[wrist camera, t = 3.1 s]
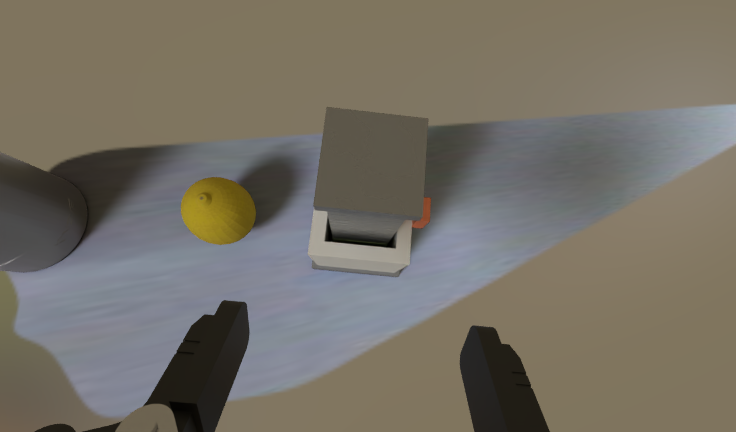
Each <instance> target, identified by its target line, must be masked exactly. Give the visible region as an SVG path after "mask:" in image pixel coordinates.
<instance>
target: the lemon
mask: <svg viewBox="0 0 736 432" xmlns="http://www.w3.org/2000/svg"><path fill="white" fill-rule="evenodd" d="M181 214H182V217H183V220H184V223H185V224H186V226H187V227H188V228H189V230H190V231H191V232H192V233H193V234H194V235H196V236H197V237H198V238H199V239H201V240H204V241H206V242H208V243H212V244H218V245H222V244H231V243H234V242H236V241H239V240H240V239H242V238H244V237H245V236H246V235H247V234H248V233H249V232H250V230H251V229H252V227H253V225H254V222H255V219H256V209H255V205H254V201H253V200H252V198H251V196H250V194H249V193H248V192H247V191H246V190H245V189H244V188H243V187H242V186H241V185H239V184H237V183H236V182H234V181H232V180H228V179H225V178H220V177H211V178H205V179H202V180H200V181H198V182H196V183H195V184H193V185H192V186H191V187H190V188H189V189H188V190H187V191H186V193H185V195H184V197H183V199H182V203H181Z"/></svg>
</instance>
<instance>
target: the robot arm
mask: <svg viewBox="0 0 736 432" xmlns="http://www.w3.org/2000/svg"><path fill="white" fill-rule="evenodd" d="M87 218H88V216H87V206H86V202H85V199H84V197H83V195H82V194H81V192H80V191H79V190H78V189H77V188H76V187H75V186H74V185H73V184H72V183H70V182H68V181H67V180H65V179H63V178H60V177H58V176H56V175H53V174H51V173H48V172H46V171H43V170H41V169H39V168H36V167H34V166H32V165H30V164H27V163H25V162H23V161H20V160H18V159H16V158H13V157H11V156H9V155H6V154H4V153H1V152H0V271H11V272H33V271H38V270H41V269H45V268H48V267H50V266H52V265H54V264H56V263H58V262H59V261H60V260H62V259H63V258H64V257H66V256H67V255H68V254H69V253H70V252H71V251H72V250H73V249H74V248H75V247H76V245H77V244H78V242H79V241H80V239H81V238H82V235H83V233H84V230H85V228H86V223H87ZM248 341H249V322H248V312H247V304H246V303H245V302H236V301H226V300H224V301H222V302H221V304H220V306H219V307H218V309H217V311H216V313H215V315H203V316H202V317H201V318H200V319H199V320H198V321H197V322H195V323H194V324H193V325H192V326H191V328H190V329H189V331H188V333H187V334H186V336H185V338H184V340H183V343H181V345H180V346H179V348H178V350H177V353H176V354H175V355H174V357H173V358H172V360H171V362H170V363H169V365H168V367H167V369H166V370H165V372H164V374H163V375H162V377H161V379H160V381H159V382H158V384H157V386H156V387H155V389H154V391H153V393H152V394H151V396H150V398H149V399H148V401H147V402H146V403H145V404H144V405H143V407H141V408H139V409H137V410H135V411H134V412H132V413H131V414H129V415H128V416H127V417H126V418H125V419H124V420H123V421H121V422H119V423H116V424H113V425H109V426H105V427H101V428H96V429H92V430H88V431H83V432H215V429H216V427H217V424H218V421H219V419H220V416H221V413H222V411H223V408H224V406H225V403H226V401H227V398H228V395H229V393H230V390H231V388H232V385H233V383H234V380H235V377H236V375H237V372H238V370H239V367H240V364H241V362H242V359H243V357H244V354H245V351H246V349H247V345H248ZM460 369H461V374H462V379H463V383H464V387H465V392H466V396H467V401H468V405H469V410H470V413H471V419H472V423H473V427H474V431H475V432H550V431H549V429H548V426H547V424H546V421H545V419H544V416H543V414H542V412H541V409H540V406H539V404H538V401H537V399H536V396H535V394H534V392H533V389H532V388H531V384H530V382H529V379H528V377H527V376H526V372H525V369H524V367H523V364H522V362H521V359H520V357H519V356H518V355H517V354H516V352H515V351H514V350H513V349H512V348H511V346H510V345H507V344H501V342H500V339H499V336H498V334H497V331H496V329H494V328H493V327H483V326H472V327H471V328H470V330H469V333H468V335H467V338H466V341H465V343H464V346H463V348H462V351H461V355H460ZM35 432H75V430H74V429H73V428H72V427H71V426H69V425H66V424H54V425H50V426H46V427H43V428H41V429H39V430H37V431H35Z"/></svg>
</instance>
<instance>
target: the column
mask: <svg viewBox="0 0 736 432" xmlns="http://www.w3.org/2000/svg"><path fill="white" fill-rule="evenodd" d="M427 133H428V119H427V118H418V117H410V116H401V115H392V114H384V113H375V112H366V111H357V110H349V109H340V108H332V107H327V109H326V116H325V123H324V131H323V138H322V146H321V153H320V160H319V168H318V175H317V183H316V190H315V197H314V205H313V206H314V209H315V210H317V211H327V214H328V218H329V223H330V227H331V231H332V236H333V241H334V242H335V243H345V244H355V245H365V246H375V247H384V248H385V247H386V246H387V244H388V242H389V241H390V240H391V238H392V237H393V236H394V234H395V233H396V232H397V230H398V229H399V227H400V226H401V225H402V223H403V222H404V221H405V220H413V221H420V220H421V219H422V217H423V204H424V187H425V169H426V151H427Z"/></svg>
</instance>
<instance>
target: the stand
mask: <svg viewBox="0 0 736 432" xmlns="http://www.w3.org/2000/svg"><path fill="white" fill-rule="evenodd" d="M430 206H431V198H427V197H424V204H423V217H422V219H421V220H420V221H413V220H405V221H404V222H403V223H402V225H401V226H400V227H399V229H398V230H397V232H396V233H395V234H394V236H393V237H392V238H391V240H390V241H389V242H388V244H387V246H386V247H385V248H384V247H375V246H365V245H355V244H345V243H335V242H334V241H333V236H332V231H331V227H330V223H329V218H328V214H327V211H317V210H315V209H314V212H313V220H312V227H311V234H310V242H309V249H308V255H309V256H310V257H311V259H312V260H313V261H312V268H313V269H319V270H329V271H340V272H350V273H360V274H370V275H380V276H391V277H398V276H399V274H400V269H402V268H404V267H406V266H408V265H409V264H410V249H411V233H412V228H421V229H422V228H423V227H424V226H425V225H426V224H427V223H428V222H430Z"/></svg>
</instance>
